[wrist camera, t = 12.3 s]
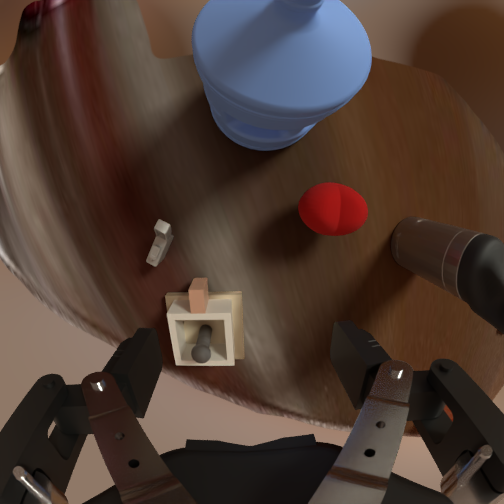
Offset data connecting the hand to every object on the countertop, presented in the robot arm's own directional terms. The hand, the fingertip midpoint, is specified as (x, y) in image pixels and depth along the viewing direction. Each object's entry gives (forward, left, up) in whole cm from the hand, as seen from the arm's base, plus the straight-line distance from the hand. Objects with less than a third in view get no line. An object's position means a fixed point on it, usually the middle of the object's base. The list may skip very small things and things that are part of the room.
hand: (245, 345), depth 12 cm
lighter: (+11, 0, -30) cm, 32 cm away
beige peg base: (+6, +15, -30) cm, 34 cm away
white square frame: (+6, +12, -28) cm, 32 cm away
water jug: (-4, -20, -30) cm, 37 cm away
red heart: (-12, -4, -30) cm, 33 cm away
